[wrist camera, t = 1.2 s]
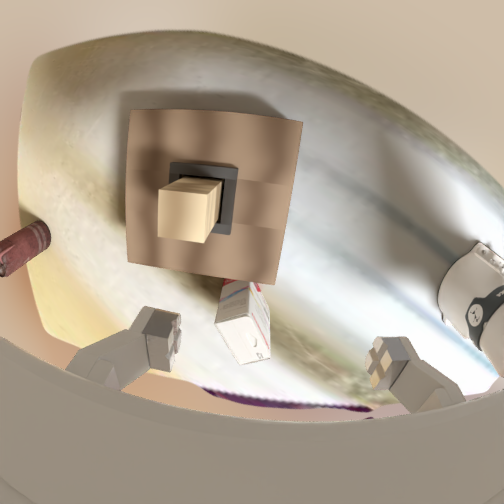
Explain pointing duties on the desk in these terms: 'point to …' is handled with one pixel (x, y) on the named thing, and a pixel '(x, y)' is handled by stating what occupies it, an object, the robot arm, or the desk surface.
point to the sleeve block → (235, 189)
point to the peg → (189, 208)
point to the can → (23, 247)
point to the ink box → (244, 321)
